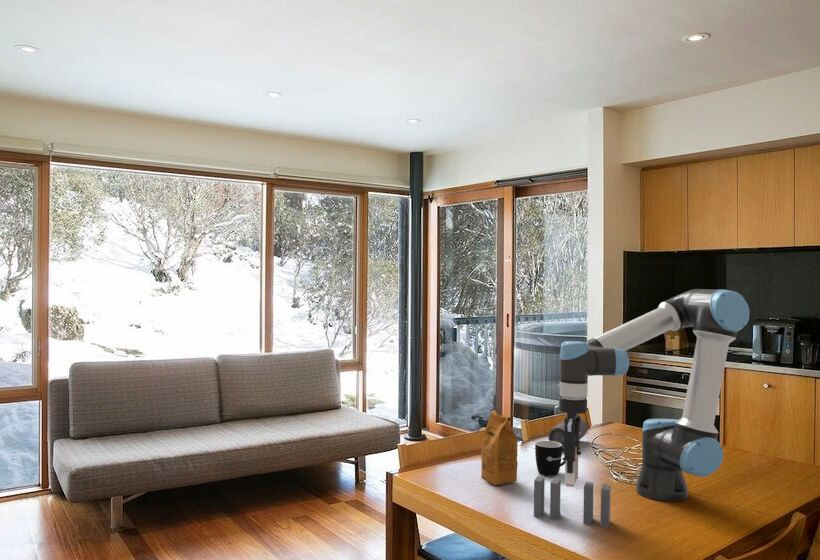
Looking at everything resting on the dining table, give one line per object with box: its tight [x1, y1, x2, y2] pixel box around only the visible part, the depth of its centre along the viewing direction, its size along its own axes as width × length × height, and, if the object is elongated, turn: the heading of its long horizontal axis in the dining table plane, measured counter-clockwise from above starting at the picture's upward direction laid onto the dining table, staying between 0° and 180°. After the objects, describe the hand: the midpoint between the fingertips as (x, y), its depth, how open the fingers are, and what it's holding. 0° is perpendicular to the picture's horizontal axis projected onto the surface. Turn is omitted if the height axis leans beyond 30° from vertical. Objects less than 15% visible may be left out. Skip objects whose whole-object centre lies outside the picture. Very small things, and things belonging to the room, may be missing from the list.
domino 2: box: [549, 477, 562, 521], centre depth 180 cm, size 2×5×10 cm, turn 158°
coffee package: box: [480, 410, 519, 486], centre depth 212 cm, size 10×12×22 cm
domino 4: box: [582, 481, 594, 526], centre depth 177 cm, size 2×5×10 cm, turn 158°
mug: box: [534, 440, 565, 477], centre depth 220 cm, size 12×9×10 cm
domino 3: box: [565, 446, 577, 488], centre depth 179 cm, size 2×5×10 cm, turn 158°
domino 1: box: [533, 475, 546, 518], centre depth 182 cm, size 2×5×10 cm, turn 158°
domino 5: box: [600, 483, 611, 528], centre depth 175 cm, size 2×5×10 cm, turn 158°
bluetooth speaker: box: [548, 417, 589, 449], centre depth 256 cm, size 23×9×10 cm, turn 147°
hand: (571, 481), depth 179 cm, fingers closed on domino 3, 5 cm apart
